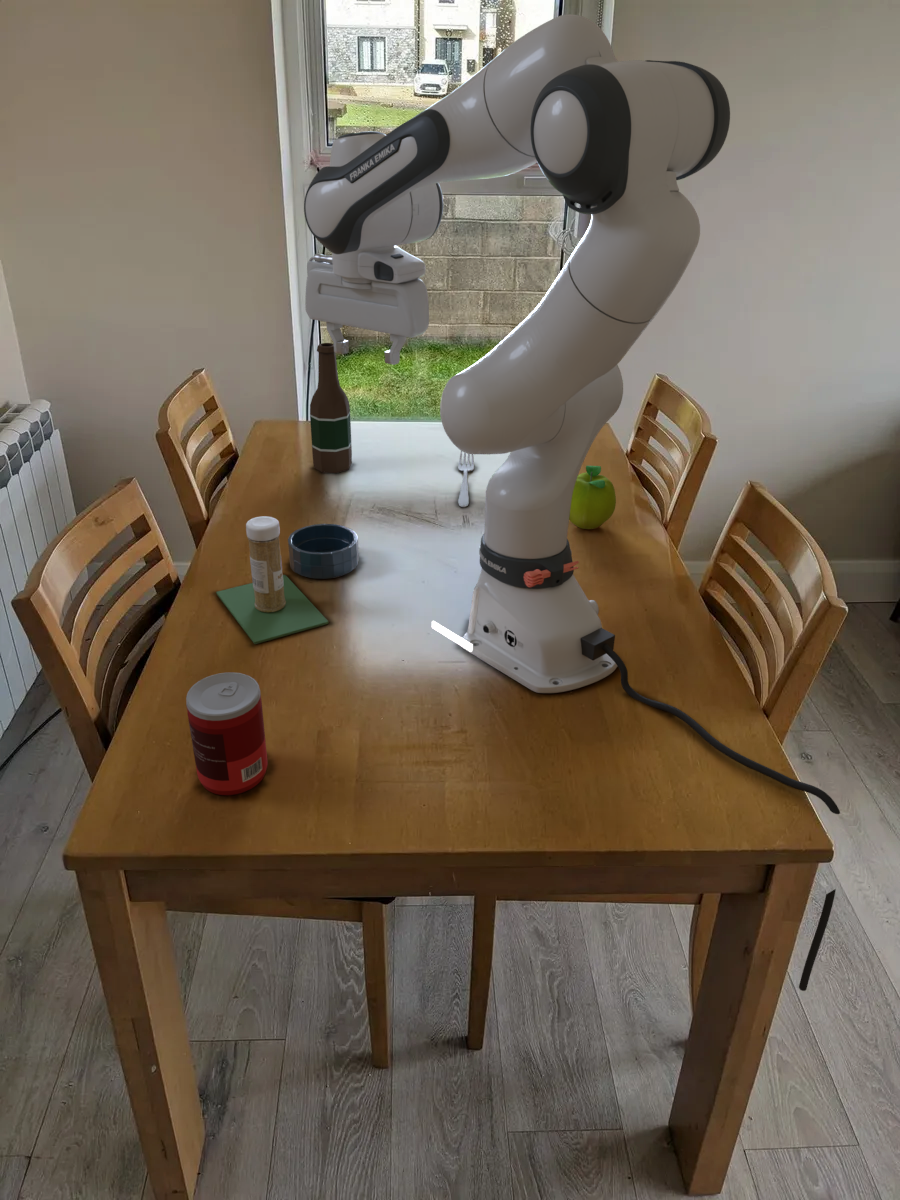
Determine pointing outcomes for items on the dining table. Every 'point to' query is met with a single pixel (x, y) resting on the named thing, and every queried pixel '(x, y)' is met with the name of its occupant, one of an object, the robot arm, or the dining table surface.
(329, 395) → the beer bottle
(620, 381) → the robot arm
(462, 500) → the fork
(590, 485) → the fruit
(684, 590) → the dining table surface
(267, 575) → the sprinkles bottle
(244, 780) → the canned food
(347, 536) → the dark blue bowl
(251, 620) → the green mat
